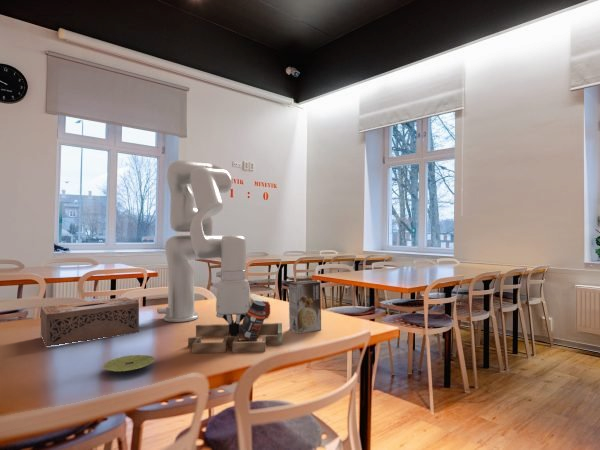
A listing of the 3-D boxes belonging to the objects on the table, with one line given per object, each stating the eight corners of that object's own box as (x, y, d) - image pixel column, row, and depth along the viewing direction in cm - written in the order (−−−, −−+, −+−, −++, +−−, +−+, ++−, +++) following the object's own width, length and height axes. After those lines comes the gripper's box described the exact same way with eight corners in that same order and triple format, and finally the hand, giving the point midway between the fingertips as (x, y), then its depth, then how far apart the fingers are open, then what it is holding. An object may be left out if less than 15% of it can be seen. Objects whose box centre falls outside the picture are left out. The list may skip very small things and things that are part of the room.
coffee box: (312, 325, 133) (311, 279, 133) (321, 330, 127) (321, 282, 128) (288, 329, 129) (288, 281, 129) (297, 333, 123) (296, 284, 123)
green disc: (127, 360, 100) (127, 352, 100) (163, 364, 97) (163, 356, 97) (92, 376, 89) (92, 368, 89) (132, 381, 86) (131, 372, 86)
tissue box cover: (46, 349, 111) (46, 314, 111) (40, 338, 122) (40, 307, 122) (138, 332, 127) (138, 302, 127) (126, 324, 138) (126, 297, 138)
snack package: (243, 308, 164) (243, 292, 164) (258, 307, 166) (258, 291, 166) (254, 319, 144) (254, 301, 144) (271, 318, 146) (271, 300, 146)
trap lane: (183, 353, 105) (183, 340, 105) (196, 335, 122) (196, 324, 122) (282, 350, 106) (282, 338, 106) (281, 333, 123) (281, 322, 123)
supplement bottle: (249, 343, 112) (261, 307, 112) (234, 334, 115) (245, 299, 114) (261, 340, 118) (272, 305, 117) (246, 331, 120) (257, 298, 120)
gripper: (206, 277, 113) (207, 340, 112) (257, 277, 113) (257, 339, 113) (211, 274, 120) (212, 333, 120) (259, 274, 121) (259, 332, 120)
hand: (234, 336), depth 116 cm, fingers closed
